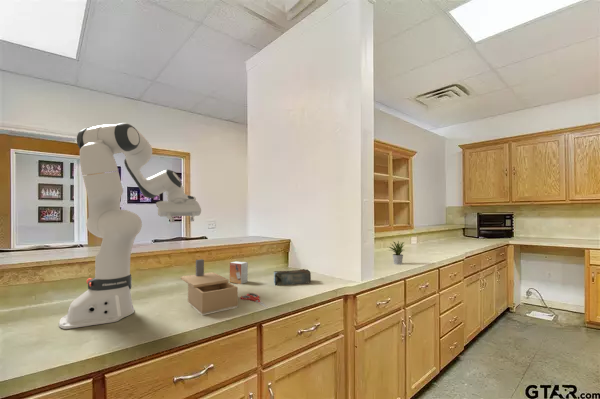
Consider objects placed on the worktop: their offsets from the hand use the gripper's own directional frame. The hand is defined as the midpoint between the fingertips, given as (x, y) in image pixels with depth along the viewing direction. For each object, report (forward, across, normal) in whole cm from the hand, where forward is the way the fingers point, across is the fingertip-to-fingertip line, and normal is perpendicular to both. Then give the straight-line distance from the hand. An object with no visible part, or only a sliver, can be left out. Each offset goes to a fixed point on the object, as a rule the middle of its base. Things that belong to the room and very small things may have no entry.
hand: (182, 220), depth 144 cm
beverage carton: (+39, +50, +9) cm, 64 cm away
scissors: (+51, +21, -3) cm, 56 cm away
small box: (+26, +28, +21) cm, 44 cm away
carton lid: (+33, +3, +3) cm, 33 cm away
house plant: (+40, +140, +7) cm, 146 cm away
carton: (+46, +3, +1) cm, 46 cm away
